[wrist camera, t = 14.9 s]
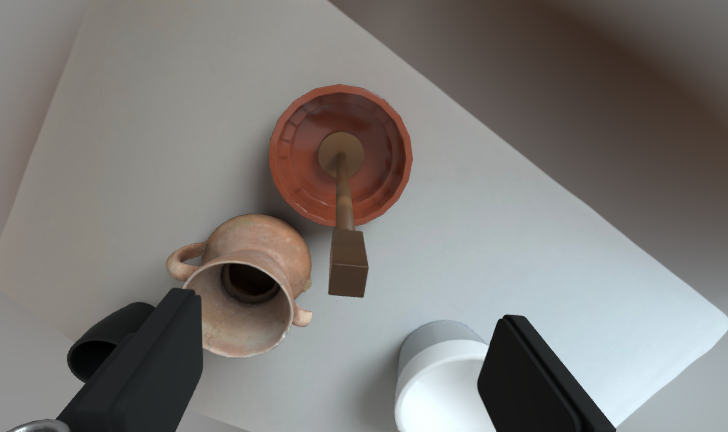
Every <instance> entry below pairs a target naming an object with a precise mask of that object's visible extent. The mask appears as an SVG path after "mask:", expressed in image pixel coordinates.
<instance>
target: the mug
mask: <svg viewBox="0 0 728 432" xmlns="http://www.w3.org/2000/svg"><path fill="white" fill-rule="evenodd" d="M154 310H155V308H154V307H153V306H151V305H149V304H147V303H142V302H136V303H132V304H129V305H128V306H126V307H124V308H122V309H120V310H118V311H116V312H114V313H112V314H111V315H109V316H107V317H106V318H104V319H103V320H101V321H100V322H98V323H97V324H95V325H94V326H93V327H91V328H90V329H89V330H88V331H87V332H86V333H85V334H84V335H83V336H82V337H81V338H80V339H79V340H78V341H77V342H76V343H75V344H74V345H73V346H72V347H71V348H70V350H69V353H68V355H67V362H68V366H69V368H70V370H71V372H72V373H73V374H74V375H75V376H76V377H77V378H78V379H79V380H81V381H82V382H84V383H86V382H87V381H88V380H89V379H90V378H91V376H92V375H93V374H94V373H95V372H96V370H97V369H98V368H99V367H100V366H101V365H102V363H103V362H104V361H105V360H106V359H107V357H108V356H109V355H110V354H111V353H112V351H113V350H114V349H115V348H116V347H117V345H118V344H119V343H120V342H121V341H122V339H123V338H124V337H125V336H126V335H128V334H129V333H132V332H133V333H136V332H137V331H138V329H139V328H140V327H141V326H142V325H143V323H144V322H145V321H146V320H147V318H148V317H149V316H150V315H151V313H152V312H153V311H154Z"/></svg>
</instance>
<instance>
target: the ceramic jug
mask: <svg viewBox="0 0 728 432" xmlns="http://www.w3.org/2000/svg"><path fill="white" fill-rule="evenodd" d="M201 255H202V265H203V266H191V265H187V264H184V263H182V262H184V261H186V260H188V259H191V258H194V257H197V256H201ZM166 267H167V271H168V272H169V274H170V275H171V276H172V277H173V278H175V279H177V280H179V281H184V282H185V283H184V285H183V287H182V289H193V290H195V294H196V295H200V296H201V301H202V344H203V348H204V349H206V350H208V351H210V352H212V353H214V354H217V355H220V356H224V357H229V358H249V357H254V356H258V355H261V354H264V353H266V352H268V351H270V350H272V349H273V348H275V347H276V346H277V345H278V344H280V343H281V341H282V340H283V339H284V338H285V336H286V333H287V332H288V331H289V330H290V328H291V325H292V324H293V325H295V326H299V327H305V326H307V325H308V324H309V323H310V321H311V318H312V312H311V311H306V310H303V309H302V308H300V307H299V306H298V305H297V304H296V303H295V302H294V300H295V299H296V298H297V297H298V296H299V295H300V294H301V292H305V291H306V290H307V289H309V287H311V279H310V274H311V256H310V252H309V249H308V246H307V244H306V242H305V241H304V239H303V238H302V236H301V235H300V234H299V233H298V232H297V231H296V230H295V229H294V228H293V227H292V226H291V225H289V224H288V223H286V222H285V221H283V220H281V219H278V218H276V217H272V216H269V215H263V214H246V215H241V216H237V217H234V218H232V219H230V220H228V221H226V222H224V223H223V224H221V225H220V226H219V227H218V228H217V229H216V230H215V231H214V232H213V233H212V234H211V236H210V237H209V238H208V240H207V241H205V242H202V243H194V244H191V245H188V246H185V247H182V248H180V249H178V250H177V251H175V252H174V253H172V254H171V255H170V256H169V258H168V259H167V262H166Z"/></svg>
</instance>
